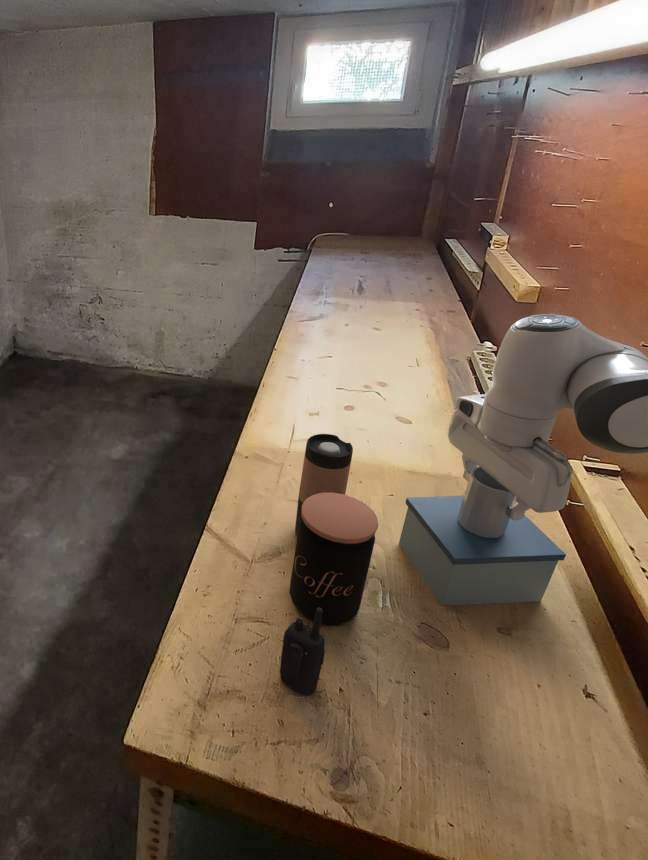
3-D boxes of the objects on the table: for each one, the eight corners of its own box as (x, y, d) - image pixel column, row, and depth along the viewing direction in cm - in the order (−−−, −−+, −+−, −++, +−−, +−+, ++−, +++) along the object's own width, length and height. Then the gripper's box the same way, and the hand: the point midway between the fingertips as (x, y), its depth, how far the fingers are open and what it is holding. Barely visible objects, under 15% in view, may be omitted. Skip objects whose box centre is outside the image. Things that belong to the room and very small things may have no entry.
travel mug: (294, 546, 102) (307, 454, 93) (292, 519, 109) (304, 431, 100) (339, 552, 100) (357, 459, 91) (334, 524, 107) (350, 435, 98)
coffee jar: (275, 603, 91) (287, 515, 83) (308, 567, 97) (321, 483, 89) (339, 642, 84) (359, 550, 76) (369, 601, 90) (390, 513, 82)
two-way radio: (321, 686, 78) (337, 608, 71) (307, 709, 75) (322, 631, 68) (284, 663, 81) (295, 587, 74) (269, 684, 78) (280, 607, 71)
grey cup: (496, 513, 93) (511, 469, 89) (511, 540, 87) (528, 494, 83) (452, 508, 94) (465, 464, 90) (464, 535, 89) (479, 489, 85)
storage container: (487, 538, 102) (502, 493, 98) (545, 603, 89) (566, 554, 84) (395, 542, 102) (406, 497, 98) (439, 607, 89) (455, 559, 84)
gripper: (597, 459, 73) (564, 540, 79) (486, 389, 92) (466, 460, 98) (552, 463, 73) (522, 545, 79) (449, 393, 91) (432, 464, 97)
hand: (490, 497), depth 88 cm, fingers open, 8 cm apart
